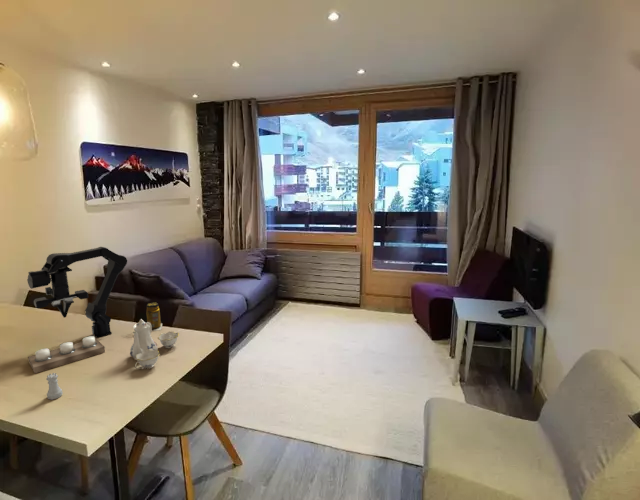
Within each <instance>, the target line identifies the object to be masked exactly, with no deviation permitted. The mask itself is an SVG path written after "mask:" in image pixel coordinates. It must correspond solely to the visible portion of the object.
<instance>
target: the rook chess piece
mask: <svg viewBox="0 0 640 500" xmlns="http://www.w3.org/2000/svg"><path fill="white" fill-rule="evenodd" d="M58 377H59V375H57V373H55V372H52V373H49V374H47V376H46V379H45V380H46V381H47V384H48V390H47V393H46V398H47V399H48V400H52V401H53V400H57V399H59V398H61V397H62V396H63V394H64V393H63V389H62V388H61V387H60V386H59V383H58Z"/></svg>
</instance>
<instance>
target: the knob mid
mask: <svg viewBox="0 0 640 500" xmlns="http://www.w3.org/2000/svg"><path fill="white" fill-rule="evenodd" d="M73 344H74V342H73V341H67V342H66V341H65V342H63V343H60V344H59V348H60V351H61V353H62V354H66V353H70V352H72V351H73V350H74V348H73Z"/></svg>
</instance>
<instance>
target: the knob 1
mask: <svg viewBox="0 0 640 500" xmlns="http://www.w3.org/2000/svg"><path fill="white" fill-rule="evenodd" d="M50 351H51V350H50V349H49V348H47V347H46V348H41V349H38V350H36V351H35V353H34V355H36V360H37V361H42V360H46V359H48V358H50Z"/></svg>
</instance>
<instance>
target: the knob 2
mask: <svg viewBox="0 0 640 500" xmlns="http://www.w3.org/2000/svg"><path fill="white" fill-rule="evenodd" d="M95 338H96V336H94V335H90V336H86V337H83V338H82V342H83V347H91V346H94V345H95Z"/></svg>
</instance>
